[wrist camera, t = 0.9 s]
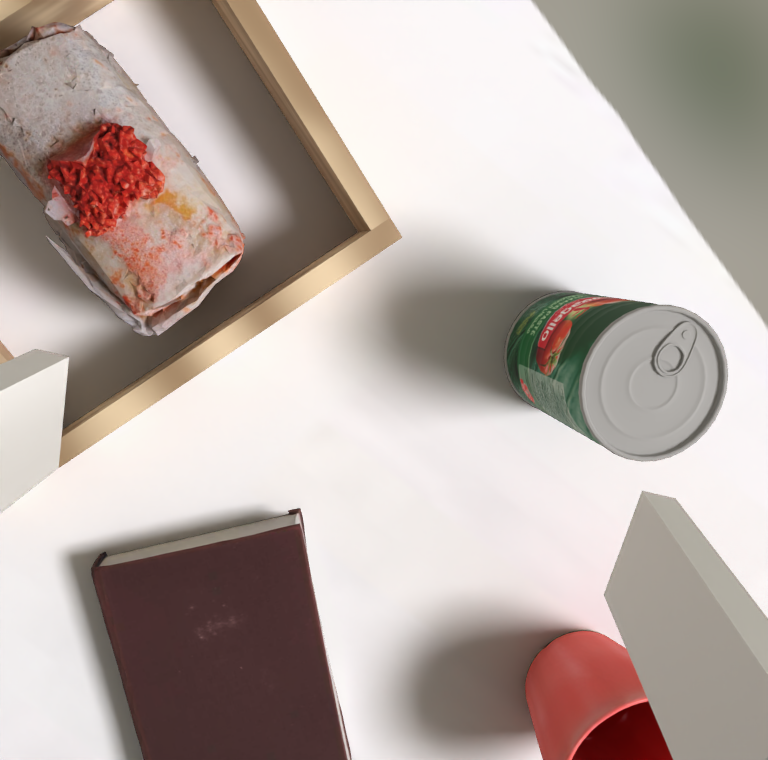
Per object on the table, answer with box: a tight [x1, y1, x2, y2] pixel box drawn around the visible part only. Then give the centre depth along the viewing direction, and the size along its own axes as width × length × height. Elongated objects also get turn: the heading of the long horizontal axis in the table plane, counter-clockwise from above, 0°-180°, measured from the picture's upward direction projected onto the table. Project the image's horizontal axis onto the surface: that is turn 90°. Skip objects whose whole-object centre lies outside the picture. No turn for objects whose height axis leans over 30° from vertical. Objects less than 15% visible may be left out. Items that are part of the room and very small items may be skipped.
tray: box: [0, 0, 402, 467], centre depth 36 cm, size 28×19×5 cm
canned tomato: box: [504, 291, 728, 461], centre depth 39 cm, size 8×8×11 cm
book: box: [91, 508, 351, 760], centre depth 44 cm, size 12×19×3 cm, turn 9°
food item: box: [0, 22, 245, 336], centre depth 34 cm, size 14×8×10 cm, turn 37°
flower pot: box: [525, 631, 673, 760], centre depth 45 cm, size 11×11×10 cm
